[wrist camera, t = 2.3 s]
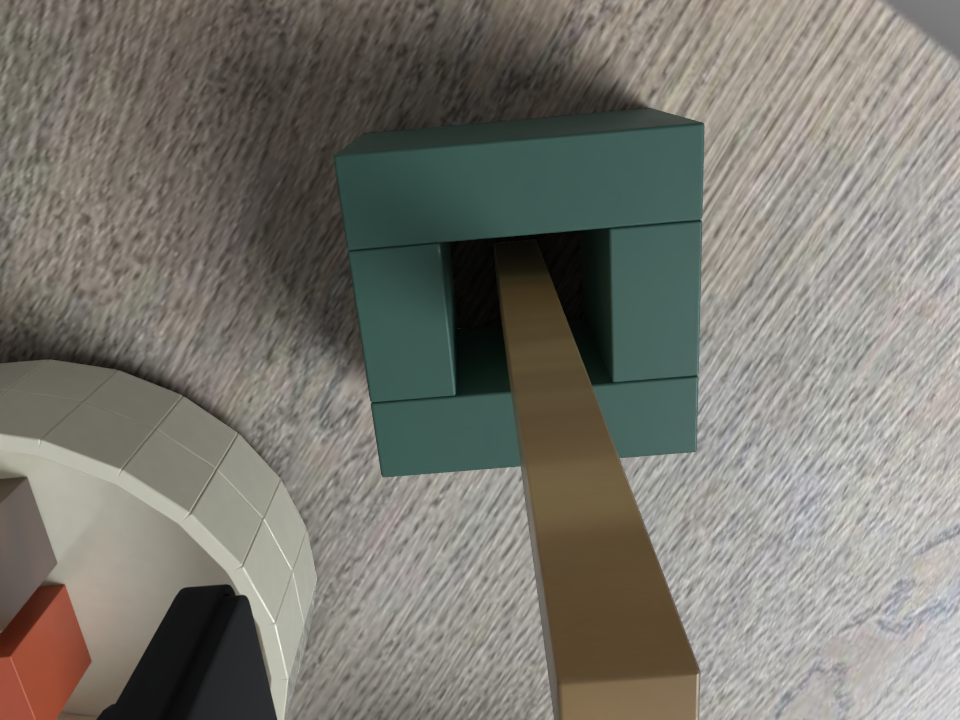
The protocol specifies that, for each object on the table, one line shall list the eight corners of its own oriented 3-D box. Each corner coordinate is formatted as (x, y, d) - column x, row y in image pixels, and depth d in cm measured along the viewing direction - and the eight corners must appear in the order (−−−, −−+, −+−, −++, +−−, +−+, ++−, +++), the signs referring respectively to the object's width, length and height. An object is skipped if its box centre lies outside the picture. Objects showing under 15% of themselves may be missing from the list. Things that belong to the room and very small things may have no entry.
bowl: (-221, 376, 28) (-393, 456, 22) (274, 333, 28) (225, 404, 22) (-51, 744, 35) (-150, 876, 29) (348, 713, 34) (325, 841, 29)
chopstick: (493, 242, 26) (556, 683, 8) (536, 238, 26) (702, 671, 8) (496, 284, 27) (562, 787, 8) (538, 280, 27) (699, 776, 8)
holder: (362, 133, 25) (332, 155, 19) (651, 107, 25) (705, 122, 19) (397, 396, 29) (381, 478, 23) (651, 374, 28) (697, 452, 23)
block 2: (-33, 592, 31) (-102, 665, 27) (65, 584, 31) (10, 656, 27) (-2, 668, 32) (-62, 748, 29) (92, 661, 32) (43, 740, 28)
